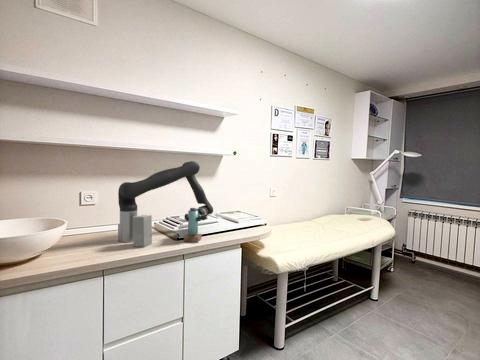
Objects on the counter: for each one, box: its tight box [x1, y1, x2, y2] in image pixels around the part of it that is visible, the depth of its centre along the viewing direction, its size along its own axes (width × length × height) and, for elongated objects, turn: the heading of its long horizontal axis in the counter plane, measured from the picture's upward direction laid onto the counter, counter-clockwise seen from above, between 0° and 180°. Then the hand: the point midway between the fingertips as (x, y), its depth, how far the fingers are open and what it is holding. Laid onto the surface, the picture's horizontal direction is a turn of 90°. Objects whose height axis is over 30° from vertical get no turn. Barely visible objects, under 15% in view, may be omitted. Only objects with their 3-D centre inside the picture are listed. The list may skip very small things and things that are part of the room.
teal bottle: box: [187, 207, 199, 234], centre depth 146 cm, size 6×6×14 cm
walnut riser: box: [183, 233, 202, 244], centre depth 146 cm, size 8×8×3 cm
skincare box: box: [133, 214, 153, 248], centre depth 135 cm, size 8×7×16 cm
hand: (191, 219), depth 143 cm, fingers closed on teal bottle, 5 cm apart
